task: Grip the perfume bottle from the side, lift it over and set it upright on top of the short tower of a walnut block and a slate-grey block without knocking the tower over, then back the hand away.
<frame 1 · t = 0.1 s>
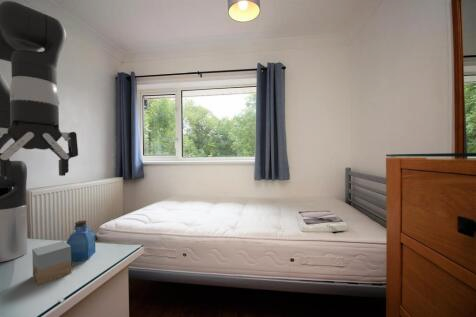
hand: (37, 177, 45), 29 cm above the table, tool pointing down, fingers open, 8 cm apart
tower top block: (52, 261, 59), point 4 cm above the table
tower base block: (52, 275, 59), on the table
perfume bottle: (81, 257, 70), on the table
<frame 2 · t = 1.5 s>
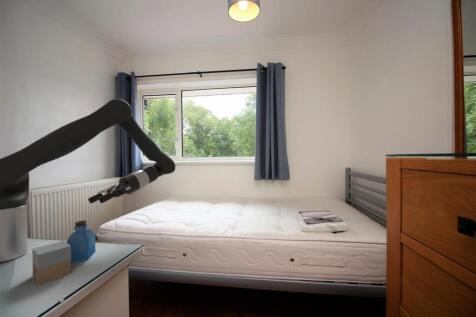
hand: (94, 201, 73), 18 cm above the table, tool tilted 70°, fingers open, 8 cm apart
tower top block: (52, 261, 60), point 4 cm above the table, touching tower base block
tower base block: (52, 275, 59), on the table, touching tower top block
everything else where it was.
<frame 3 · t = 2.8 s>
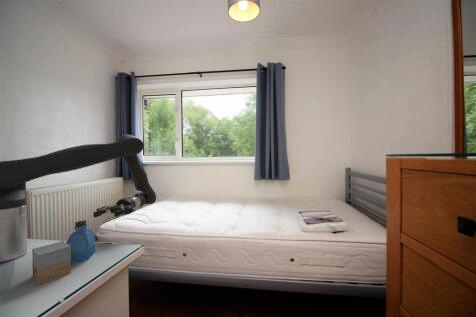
hand: (104, 214, 81), 11 cm above the table, tool horizontal, fingers open, 8 cm apart
nothing on the table moved.
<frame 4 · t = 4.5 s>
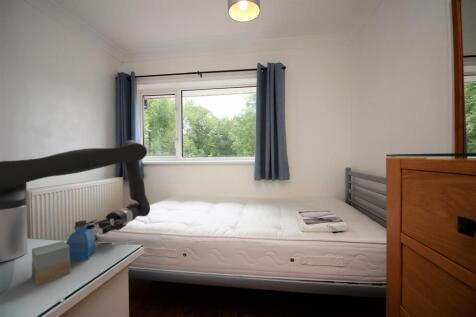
hand: (92, 231, 75), 7 cm above the table, tool horizontal, fingers open, 8 cm apart
nothing on the table moved.
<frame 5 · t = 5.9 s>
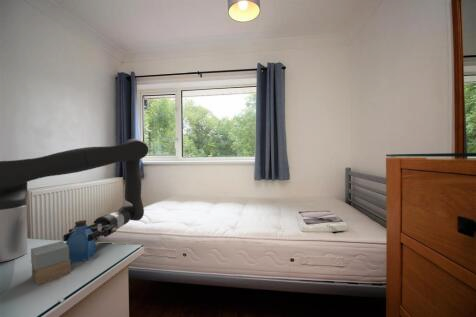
hand: (76, 238, 68), 7 cm above the table, tool horizontal, fingers closed on perfume bottle, 8 cm apart
perfume bottle: (81, 257, 70), on the table, touching gripper
everything else where it was.
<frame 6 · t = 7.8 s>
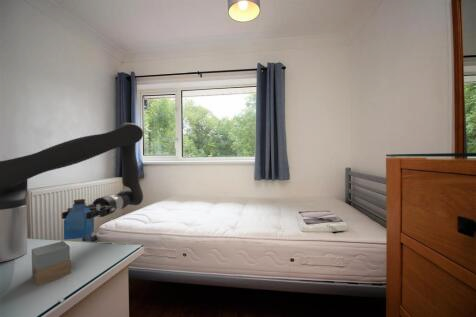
hand: (75, 216, 68), 15 cm above the table, tool horizontal, fingers closed on perfume bottle, 8 cm apart
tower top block: (51, 261, 59), point 4 cm above the table
tower base block: (51, 275, 59), on the table
perfume bottle: (79, 235, 70), point 7 cm above the table, touching gripper
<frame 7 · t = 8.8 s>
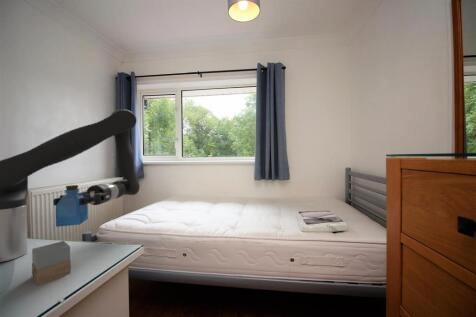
hand: (67, 202, 65), 20 cm above the table, tool horizontal, fingers closed on perfume bottle, 8 cm apart
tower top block: (51, 261, 59), point 4 cm above the table, touching tower base block
tower base block: (51, 275, 59), on the table, touching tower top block
perfume bottle: (72, 223, 67), point 12 cm above the table, touching gripper
when the fingers open (17 cm above the table, at t = 11.1 s): perfume bottle drops 2 cm, resting on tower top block.
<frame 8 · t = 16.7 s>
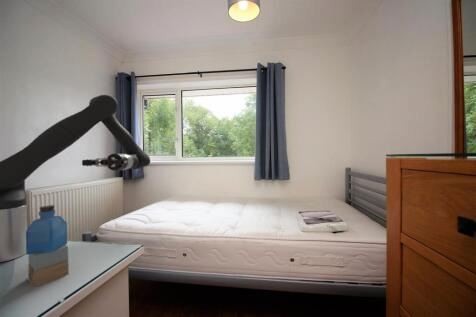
hand: (93, 162, 78), 32 cm above the table, tool horizontal, fingers open, 8 cm apart
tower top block: (48, 262, 59), point 4 cm above the table, touching perfume bottle, tower base block
perfume bottle: (47, 249, 59), point 8 cm above the table, touching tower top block
everything else where it was.
at the end: perfume bottle 0.2 cm off-centre on the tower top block, point 3.8 cm above the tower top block's base; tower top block 0.4 cm off-centre on the tower base block, point 4.0 cm above the tower base block's base; perfume bottle tilted 0° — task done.
